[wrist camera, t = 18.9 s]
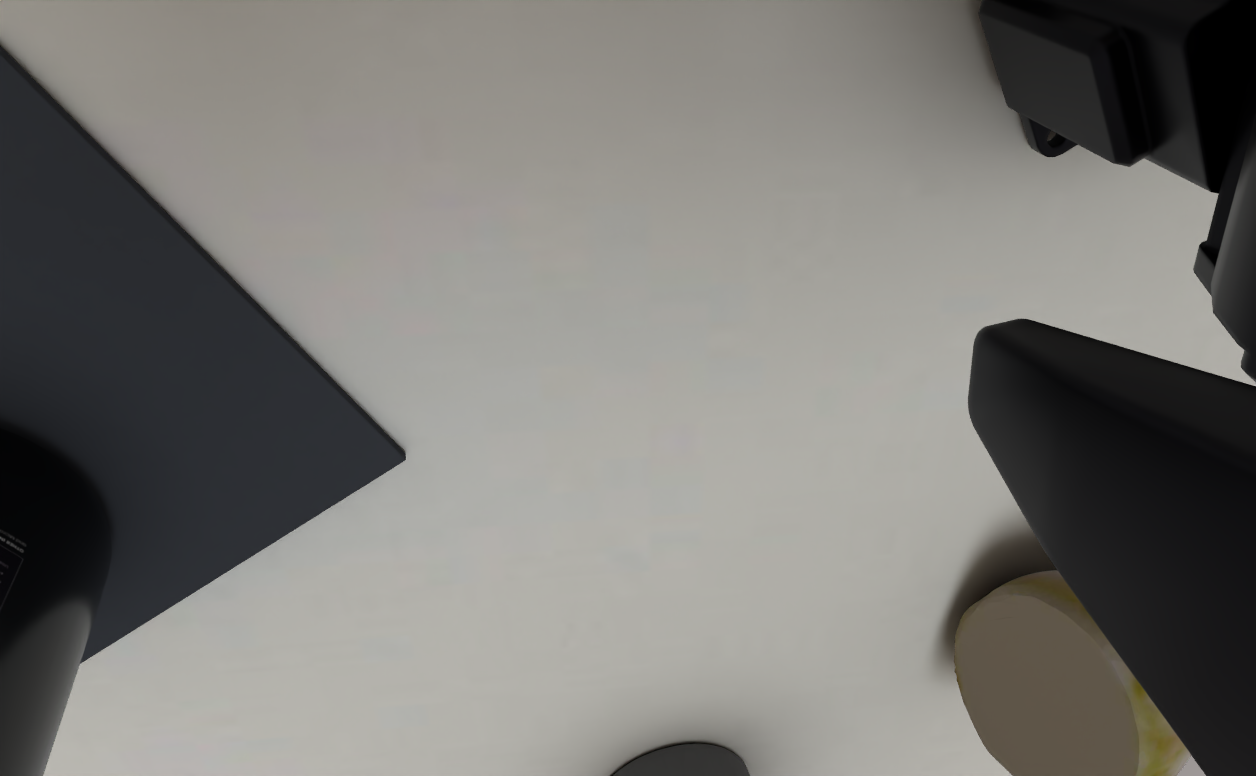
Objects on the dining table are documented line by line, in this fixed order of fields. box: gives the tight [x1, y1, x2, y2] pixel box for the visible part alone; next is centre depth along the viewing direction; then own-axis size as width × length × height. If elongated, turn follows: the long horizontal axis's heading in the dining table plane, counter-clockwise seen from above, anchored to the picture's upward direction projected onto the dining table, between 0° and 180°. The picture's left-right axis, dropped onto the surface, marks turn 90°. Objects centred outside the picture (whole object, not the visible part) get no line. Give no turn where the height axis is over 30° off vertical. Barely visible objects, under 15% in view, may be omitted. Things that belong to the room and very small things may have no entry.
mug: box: [954, 570, 1191, 776], centre depth 30 cm, size 8×10×10 cm
